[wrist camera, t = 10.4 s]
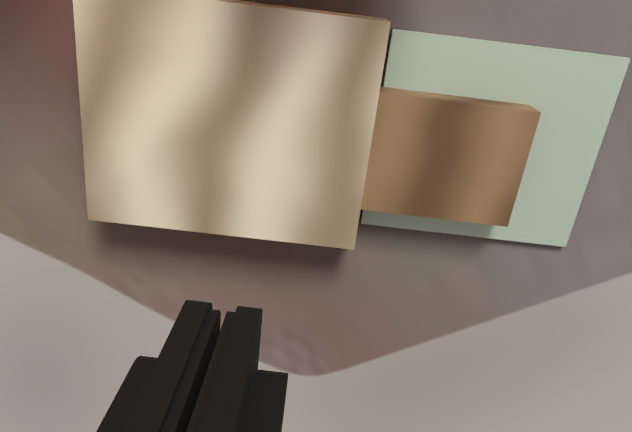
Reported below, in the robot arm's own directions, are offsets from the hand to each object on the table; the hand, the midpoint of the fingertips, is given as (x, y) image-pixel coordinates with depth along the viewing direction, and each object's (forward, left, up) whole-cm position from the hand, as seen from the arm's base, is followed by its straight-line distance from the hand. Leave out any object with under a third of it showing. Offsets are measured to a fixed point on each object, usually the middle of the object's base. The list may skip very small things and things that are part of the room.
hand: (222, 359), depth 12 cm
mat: (-12, 0, -22) cm, 25 cm away
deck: (+3, 0, -22) cm, 22 cm away
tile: (-9, +1, -22) cm, 24 cm away
